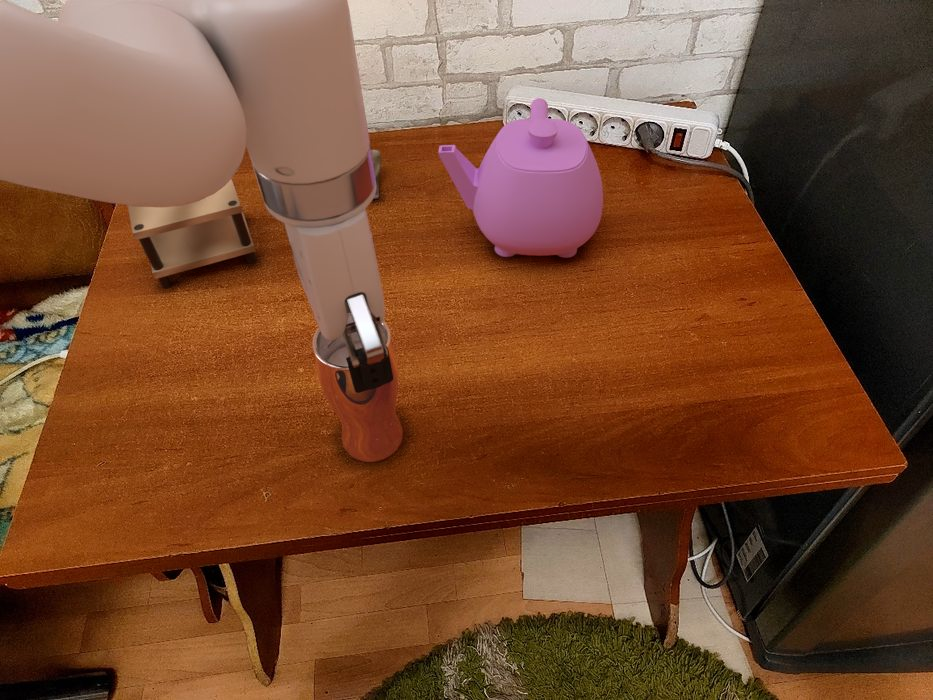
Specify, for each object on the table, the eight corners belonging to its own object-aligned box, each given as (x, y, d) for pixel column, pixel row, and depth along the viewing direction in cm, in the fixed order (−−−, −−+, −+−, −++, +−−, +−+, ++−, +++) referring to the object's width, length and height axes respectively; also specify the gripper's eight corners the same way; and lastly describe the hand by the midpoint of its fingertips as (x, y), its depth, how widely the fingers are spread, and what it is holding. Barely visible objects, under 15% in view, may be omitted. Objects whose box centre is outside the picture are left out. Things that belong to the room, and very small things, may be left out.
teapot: (447, 176, 96) (443, 74, 85) (590, 177, 96) (605, 75, 84) (438, 272, 84) (432, 169, 72) (603, 275, 83) (623, 170, 72)
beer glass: (325, 453, 67) (293, 356, 56) (358, 399, 72) (335, 299, 60) (388, 476, 66) (369, 381, 54) (418, 420, 70) (406, 320, 58)
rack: (161, 291, 82) (132, 233, 76) (151, 241, 88) (123, 183, 81) (260, 263, 85) (240, 205, 78) (244, 216, 91) (225, 158, 84)
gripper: (233, 120, 49) (288, 289, 62) (291, 274, 39) (342, 437, 52) (335, 96, 51) (367, 265, 64) (416, 237, 40) (434, 404, 53)
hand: (356, 342), depth 58 cm, fingers open, 9 cm apart
